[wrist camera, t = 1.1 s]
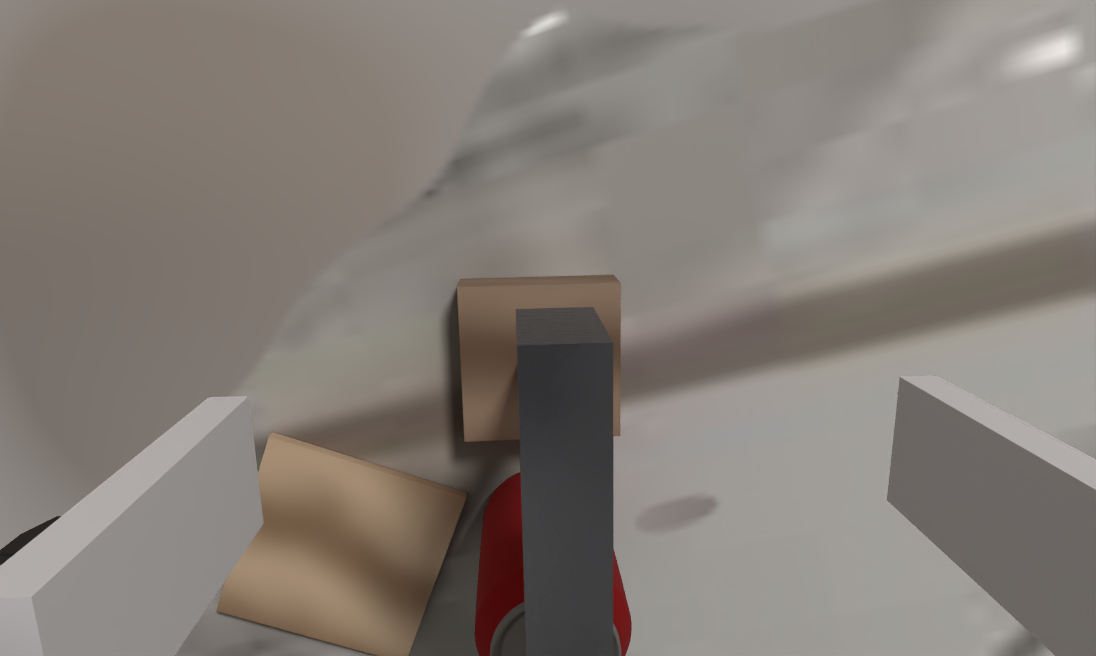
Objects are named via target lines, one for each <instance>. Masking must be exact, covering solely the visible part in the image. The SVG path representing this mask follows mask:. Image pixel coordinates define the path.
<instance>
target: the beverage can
mask: <svg viewBox="0 0 1096 656" xmlns="http://www.w3.org/2000/svg"><path fill="white" fill-rule="evenodd" d="M631 629H632V628H631V616H630V612H629V608H628V604H627V600H626V596H625V591H624V587H623V583H622V579H621V575H620V572H619V568H618V564H617V560H616V556H615V553H614V549H613V656H625V655H626V652H627V650H628V646H629V643H630V638H631ZM475 641H476V647H477V650H478V653H479V656H526V633H525V601H524V568H523V536H522V504H521V472H519V473H517V474H515V475H513V476H511V477H510V478H508V479H507V480H506V481H504V482H503V483H502V484H501V485H500V486H499V487H498V488H497V489H496V490H495V492H494V493H493V494H492V496H491V497H490V499H489V501H488V503H487V506H486V509H485V512H484V518H483V528H482V538H481V548H480V561H479V573H478V586H477V602H476V619H475Z"/></svg>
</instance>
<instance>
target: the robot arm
mask: <svg viewBox="0 0 1096 656" xmlns="http://www.w3.org/2000/svg"><path fill="white" fill-rule="evenodd" d="M887 500H888V501H889V502H890V503H891V504H892V505H893V506H894V507H895V508H896V509H897V510H898V511H899V512H900V513H902V514H903V515H904V516H905V517H906V518H907V519H908V520H909V521H910V522H911V523H912V524H913V525H915V526H916V527H917V528H918V529H919V530H920V531H921V532H922V533H923V534H924V535H925V536H926V537H928V538H929V539H930V540H931V541H932V542H933V543H934V544H935V545H936V546H937V547H938V548H939V549H941V550H942V551H943V552H944V553H945V554H946V555H947V556H948V557H949V558H950V559H951V560H952V561H954V562H955V563H956V564H957V565H958V566H959V567H960V568H961V569H962V570H963V571H964V572H965V573H967V574H968V575H969V576H970V577H971V578H972V579H973V580H974V581H975V582H976V583H977V584H978V585H980V586H981V587H982V588H983V589H984V590H985V591H986V592H987V593H988V594H989V595H990V596H991V597H992V598H994V599H995V600H996V601H997V602H998V603H999V604H1000V605H1001V606H1002V607H1003V608H1004V609H1005V610H1007V611H1008V612H1009V613H1010V614H1011V615H1012V616H1013V617H1014V618H1015V619H1016V620H1017V621H1018V622H1020V623H1021V624H1022V625H1023V626H1024V627H1025V628H1026V629H1027V630H1028V631H1029V632H1030V633H1031V634H1033V635H1034V636H1035V637H1036V638H1037V639H1038V640H1039V641H1040V642H1041V643H1042V644H1043V645H1044V646H1046V647H1047V648H1048V649H1049V650H1050V651H1051V652H1052V653H1053V654H1054V655H1055V656H1096V459H1094V458H1092V457H1090V456H1088V455H1086V454H1085V453H1083V452H1081V451H1079V450H1077V449H1075V448H1073V447H1071V446H1069V445H1067V444H1065V443H1064V442H1062V441H1060V440H1058V439H1056V438H1054V437H1052V436H1050V435H1048V434H1046V433H1045V432H1043V431H1041V430H1039V429H1037V428H1035V427H1033V426H1031V425H1029V424H1027V423H1025V422H1024V421H1022V420H1020V419H1018V418H1016V417H1014V416H1012V415H1010V414H1008V413H1006V412H1004V411H1003V410H1001V409H999V408H997V407H995V406H993V405H991V404H989V403H987V402H985V401H983V400H982V399H980V398H978V397H976V396H974V395H972V394H970V393H968V392H966V391H964V390H962V389H961V388H959V387H957V386H955V385H953V384H951V383H949V382H947V381H945V380H943V379H941V378H940V377H938V376H912V377H900V380H899V390H898V400H897V409H896V419H895V428H894V438H893V447H892V457H891V467H890V476H889V486H888V495H887ZM263 524H264V522H263V514H262V505H261V497H260V488H259V480H258V472H257V463H256V455H255V446H254V438H253V429H252V421H251V412H250V404H249V396H238V397H209V398H208V399H206V400H205V401H204V402H203V403H201V404H200V405H199V406H198V407H197V408H195V409H194V410H193V411H191V412H190V413H189V414H188V415H187V416H185V417H184V418H183V419H182V420H180V421H179V422H178V423H177V424H175V425H174V426H173V427H172V428H170V429H169V430H168V431H167V432H165V433H164V434H163V435H162V436H160V437H159V438H158V439H157V440H156V441H154V442H153V443H152V444H151V445H149V446H148V447H147V448H146V449H144V450H143V451H142V452H141V453H139V454H138V455H137V456H136V457H134V458H133V459H132V460H131V461H130V462H128V463H127V464H126V465H125V466H123V467H122V468H121V469H120V470H118V471H117V472H116V473H115V474H113V475H112V476H111V477H110V478H108V479H107V480H106V481H105V482H103V483H102V484H101V485H100V486H99V487H97V488H96V489H95V490H94V491H93V492H91V493H90V494H89V495H87V496H86V497H85V498H84V499H82V500H81V501H80V502H79V503H77V504H76V505H75V506H74V507H73V508H71V509H70V510H69V511H68V512H66V513H65V514H64V515H63V516H57V517H55V518H53V519H51V520H49V521H47V522H45V523H43V524H40V525H38V526H36V527H35V528H32V529H30V530H28V531H26V532H24V533H22V534H20V535H19V536H18V537H17V538H15V539H14V540H13V541H11V542H10V543H9V544H8V545H6V546H5V547H4V548H2V549H1V550H0V656H175V655H176V653H177V652H178V650H179V649H180V647H181V646H182V644H183V643H184V641H185V640H186V639H187V637H188V636H189V634H190V633H191V631H192V630H193V628H194V627H195V625H196V624H197V622H198V621H199V619H200V618H201V616H202V615H203V613H204V612H205V610H206V609H207V607H208V606H209V604H210V603H211V601H212V600H213V598H214V597H215V595H216V594H217V592H218V591H219V589H220V588H221V586H222V585H223V583H224V582H225V580H226V579H227V577H228V576H229V574H230V573H231V571H232V570H233V568H234V567H235V565H236V564H237V562H238V561H239V559H240V558H241V556H242V555H243V553H244V552H245V550H246V549H247V547H248V546H249V544H250V543H251V541H252V540H253V538H254V537H255V535H256V534H257V532H258V531H259V529H260V528H261V526H262V525H263Z"/></svg>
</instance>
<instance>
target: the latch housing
mask: <svg viewBox="0 0 1096 656" xmlns="http://www.w3.org/2000/svg"><path fill="white" fill-rule="evenodd" d="M457 299H458V320H459V340H460V360H461V381H462V401H463V421H464V441H465V442H473V441H499V440H520V436H519V404H518V371H517V339H516V309H535V308H569V307H594V309H595V311H596V313H597V314H598V316H599V318H600V320H601V322H602V323H603V325H604V327H605V329H606V330H607V332H608V334H609V336H610V337H611V339H612V341H613V436H620V301H621V283H620V282H619V280H618V279H617V278H616V277H615V276H614V275H592V276H556V277H520V278H484V279H460V281H459V284H458V286H457Z"/></svg>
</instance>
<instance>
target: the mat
mask: <svg viewBox="0 0 1096 656" xmlns="http://www.w3.org/2000/svg"><path fill="white" fill-rule="evenodd" d="M258 480H259V488H260V497H261V505H262V514H263V522H264V524H263V525H262V526H261V528H260V529H259V531H258V532H257V534H256V535H255V537H254V538H253V540H252V541H251V543H250V544H249V546H248V547H247V549H246V550H245V552H244V553H243V555H242V556H241V558H240V559H239V561H238V562H237V564H236V565H235V567H234V568H233V570H232V571H231V573H230V574H229V576H228V577H227V579H226V581H225V584H224V588H223V591H222V594H221V597H220V601H219V604H218V607H217V611H218V612H221V613H225V614H229V615H232V616H236V617H239V618H243V619H247V620H250V621H254V622H257V623H261V624H265V625H268V626H272V627H276V628H279V629H283V630H286V631H290V632H294V633H297V634H301V635H304V636H308V637H312V638H315V639H319V640H322V641H326V642H330V643H333V644H337V645H341V646H344V647H348V648H351V649H355V650H359V651H362V652H366V653H369V654H373V655H377V656H408V655H409V652H410V650H411V647H412V644H413V642H414V639H415V636H416V633H417V631H418V628H419V625H420V623H421V620H422V617H423V614H424V612H425V609H426V606H427V604H428V601H429V598H430V595H431V593H432V590H433V587H434V584H435V582H436V579H437V576H438V574H439V571H440V568H441V565H442V563H443V560H444V557H445V555H446V552H447V549H448V546H449V544H450V541H451V538H452V536H453V533H454V530H455V527H456V525H457V522H458V519H459V517H460V514H461V511H462V508H463V506H464V503H465V500H466V497H467V493H466V492H463V491H460V490H457V489H454V488H450V487H447V486H444V485H441V484H438V483H434V482H431V481H428V480H425V479H421V478H418V477H415V476H412V475H409V474H405V473H402V472H399V471H396V470H392V469H389V468H386V467H383V466H380V465H376V464H373V463H370V462H367V461H363V460H360V459H357V458H354V457H351V456H347V455H344V454H341V453H338V452H334V451H331V450H328V449H325V448H322V447H318V446H315V445H312V444H309V443H306V442H302V441H299V440H296V439H293V438H289V437H286V436H283V435H280V434H277V433H273V432H272V434H271V435H270V436H269V438H268V441H267V445H266V448H265V451H264V455H263V458H262V461H261V465H260V468H259V471H258Z"/></svg>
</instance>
